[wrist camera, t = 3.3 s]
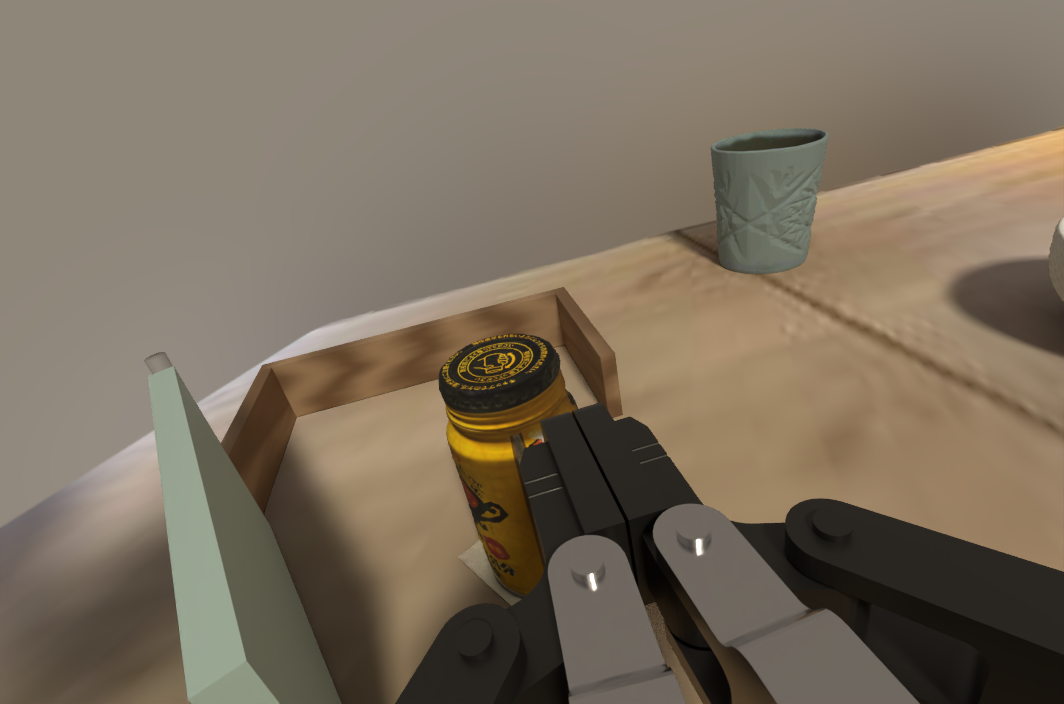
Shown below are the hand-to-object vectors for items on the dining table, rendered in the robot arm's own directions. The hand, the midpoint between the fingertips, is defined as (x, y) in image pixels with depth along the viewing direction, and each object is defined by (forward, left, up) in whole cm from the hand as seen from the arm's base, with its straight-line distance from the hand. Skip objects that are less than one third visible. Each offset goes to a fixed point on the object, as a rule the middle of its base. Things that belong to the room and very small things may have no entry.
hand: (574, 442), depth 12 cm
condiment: (0, +10, -15) cm, 18 cm away
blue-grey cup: (+30, +38, -15) cm, 51 cm away
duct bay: (-6, +25, -15) cm, 30 cm away
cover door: (-14, +9, -15) cm, 22 cm away
